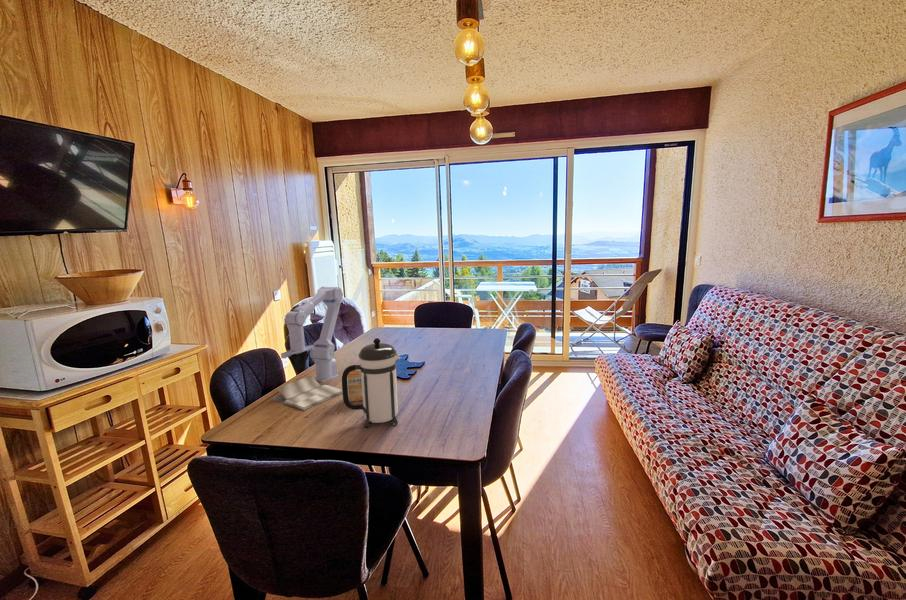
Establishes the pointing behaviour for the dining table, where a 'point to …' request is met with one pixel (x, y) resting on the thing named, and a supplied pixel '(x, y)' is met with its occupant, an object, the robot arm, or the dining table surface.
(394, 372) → the coffee press
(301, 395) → the floor panel
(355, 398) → the supplement box
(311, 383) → the loose plank
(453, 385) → the dining table surface
